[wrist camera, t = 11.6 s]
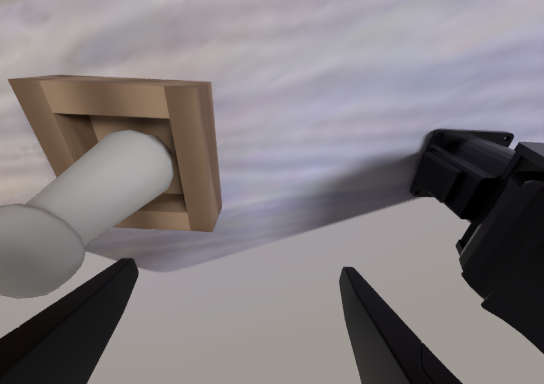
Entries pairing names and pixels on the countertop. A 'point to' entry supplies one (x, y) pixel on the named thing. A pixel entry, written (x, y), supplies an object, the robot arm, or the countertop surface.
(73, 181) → the salt shaker
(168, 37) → the countertop surface
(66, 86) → the socket block
